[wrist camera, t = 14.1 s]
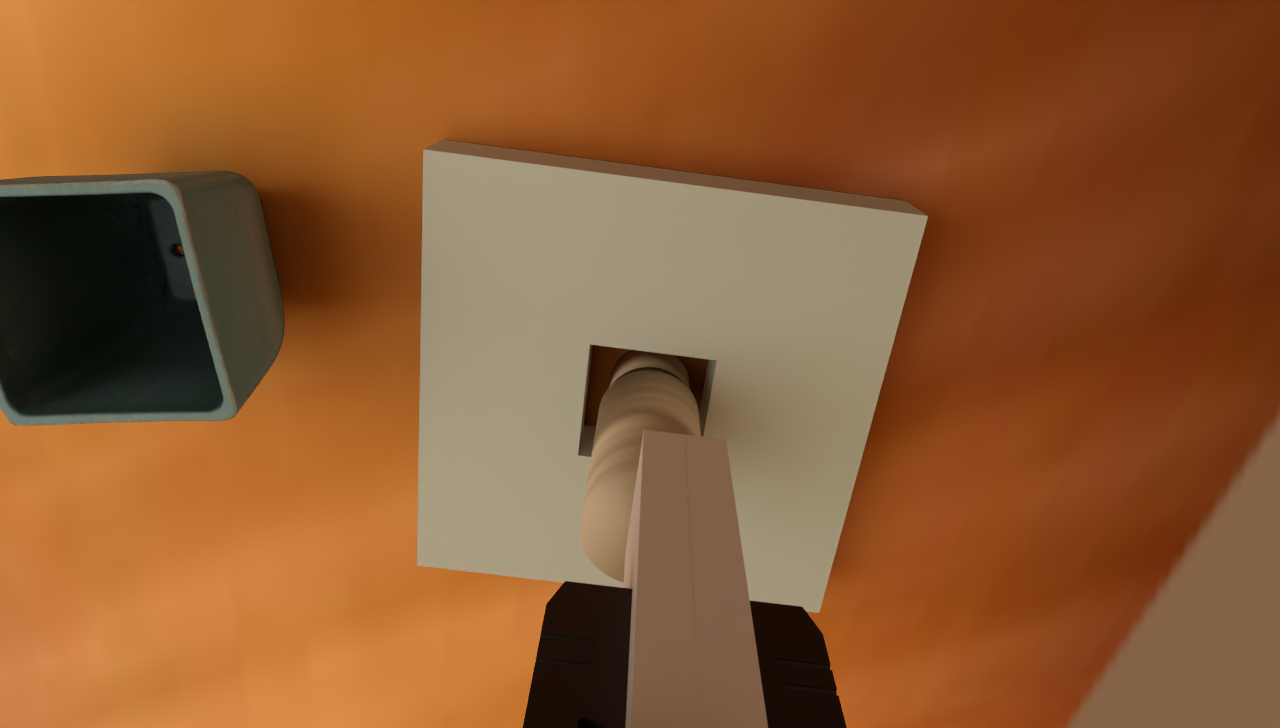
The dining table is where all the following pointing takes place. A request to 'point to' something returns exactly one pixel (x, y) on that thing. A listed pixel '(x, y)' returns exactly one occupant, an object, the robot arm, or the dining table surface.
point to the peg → (630, 447)
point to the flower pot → (134, 298)
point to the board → (645, 348)
